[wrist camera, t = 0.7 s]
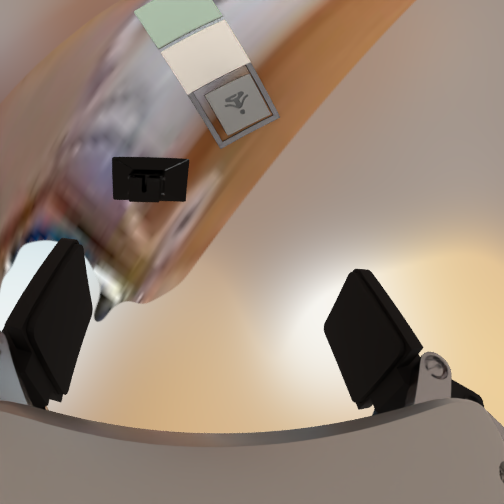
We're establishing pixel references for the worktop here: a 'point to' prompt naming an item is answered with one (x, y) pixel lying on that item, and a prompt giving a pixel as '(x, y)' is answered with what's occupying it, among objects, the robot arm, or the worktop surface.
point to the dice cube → (237, 104)
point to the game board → (199, 50)
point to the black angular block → (149, 179)
